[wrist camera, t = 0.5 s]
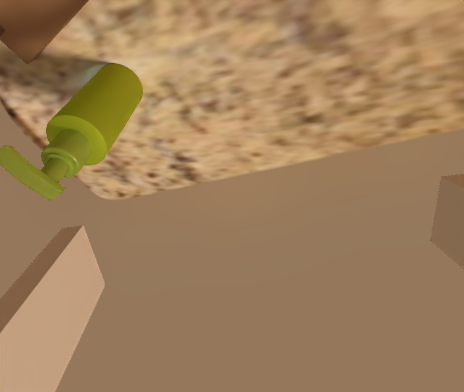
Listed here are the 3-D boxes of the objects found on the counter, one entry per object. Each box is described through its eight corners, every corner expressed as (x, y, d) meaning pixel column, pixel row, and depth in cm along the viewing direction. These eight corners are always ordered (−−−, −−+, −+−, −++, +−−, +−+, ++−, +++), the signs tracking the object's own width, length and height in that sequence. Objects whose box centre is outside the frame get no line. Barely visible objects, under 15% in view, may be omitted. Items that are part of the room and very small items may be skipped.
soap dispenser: (111, 46, 37) (14, 136, 22) (152, 93, 41) (91, 196, 26) (81, 73, 39) (-24, 170, 25) (122, 114, 43) (51, 220, 29)
